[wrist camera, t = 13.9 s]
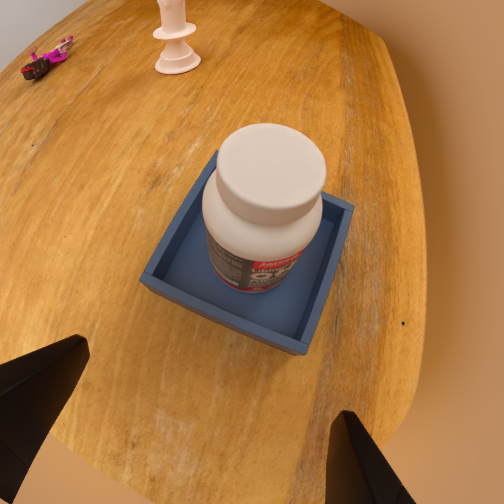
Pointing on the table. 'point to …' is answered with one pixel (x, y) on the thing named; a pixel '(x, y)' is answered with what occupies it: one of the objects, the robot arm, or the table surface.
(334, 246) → the tray
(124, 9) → the table surface
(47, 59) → the character figurine
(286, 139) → the pill bottle
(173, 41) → the candle
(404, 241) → the table surface
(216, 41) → the table surface
